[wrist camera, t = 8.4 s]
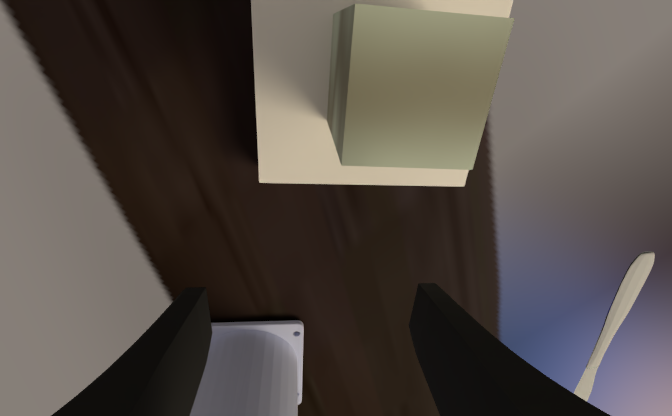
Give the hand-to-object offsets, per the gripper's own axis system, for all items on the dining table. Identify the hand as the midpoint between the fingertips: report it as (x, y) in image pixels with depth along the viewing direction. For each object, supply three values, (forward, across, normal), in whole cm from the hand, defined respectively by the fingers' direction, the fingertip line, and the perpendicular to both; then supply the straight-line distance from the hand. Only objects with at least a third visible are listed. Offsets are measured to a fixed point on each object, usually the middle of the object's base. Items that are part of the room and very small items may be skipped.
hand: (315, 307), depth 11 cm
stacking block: (+7, -3, -7) cm, 10 cm away
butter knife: (+10, -27, +18) cm, 34 cm away
